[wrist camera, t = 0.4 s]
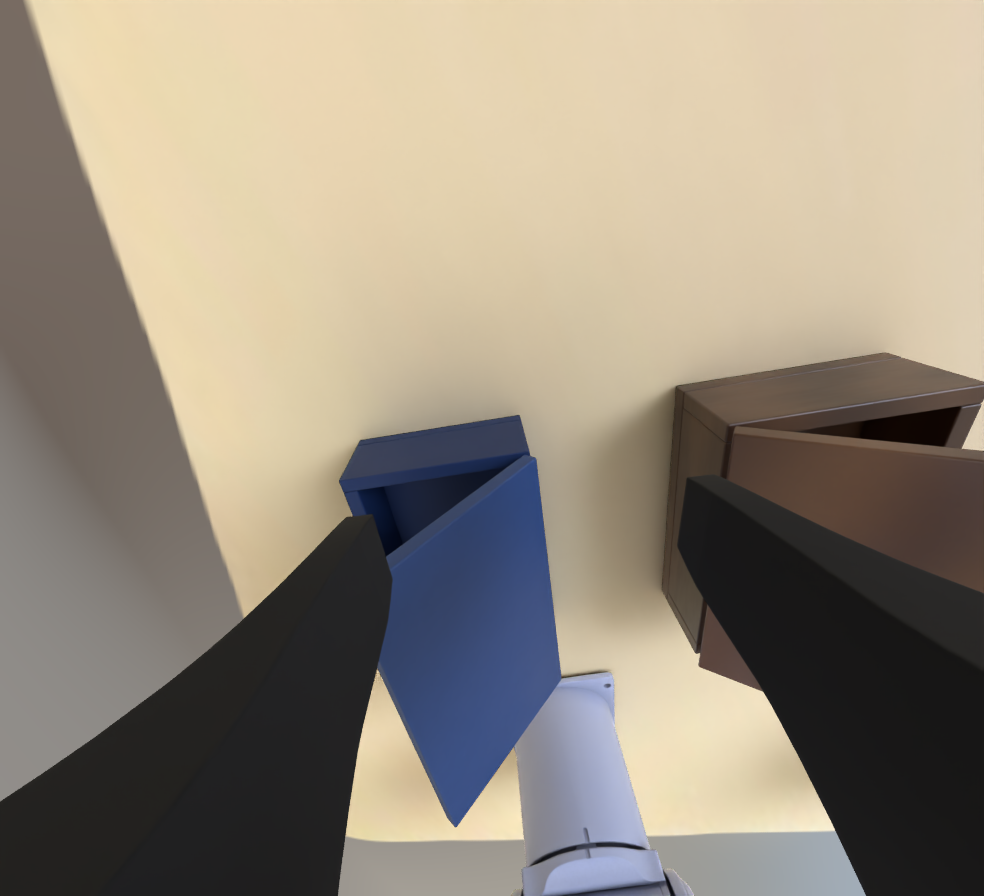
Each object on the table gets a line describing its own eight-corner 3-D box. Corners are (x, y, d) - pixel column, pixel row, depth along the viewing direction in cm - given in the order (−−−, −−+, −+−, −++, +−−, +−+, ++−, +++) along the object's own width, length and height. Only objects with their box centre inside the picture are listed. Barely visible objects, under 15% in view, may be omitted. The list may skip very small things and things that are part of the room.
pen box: (886, 352, 18) (993, 383, 15) (817, 568, 25) (879, 628, 21) (675, 385, 19) (727, 424, 15) (661, 590, 25) (695, 654, 21)
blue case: (427, 633, 26) (421, 689, 23) (359, 439, 19) (338, 480, 16) (545, 616, 26) (556, 669, 23) (519, 414, 19) (529, 451, 16)
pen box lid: (1229, 474, 10) (1252, 490, 9) (983, 761, 16) (989, 780, 16) (735, 425, 15) (733, 433, 14) (700, 655, 21) (698, 667, 21)
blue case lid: (446, 817, 18) (456, 829, 17) (339, 589, 11) (351, 600, 11) (553, 672, 23) (562, 679, 22) (524, 453, 16) (536, 457, 15)
